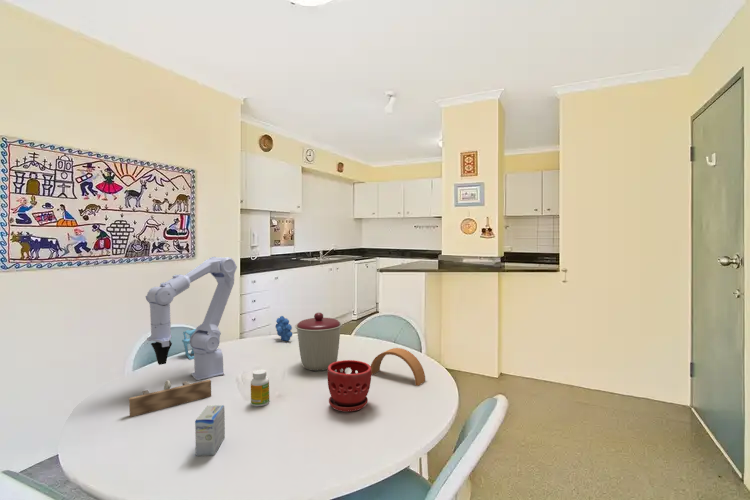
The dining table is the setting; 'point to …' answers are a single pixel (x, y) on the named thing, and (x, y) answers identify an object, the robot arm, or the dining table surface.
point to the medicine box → (210, 430)
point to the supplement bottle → (259, 388)
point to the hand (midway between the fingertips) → (162, 363)
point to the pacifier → (167, 385)
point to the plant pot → (349, 385)
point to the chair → (186, 341)
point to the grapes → (283, 328)
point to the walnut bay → (169, 397)
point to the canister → (318, 341)
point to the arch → (407, 357)
